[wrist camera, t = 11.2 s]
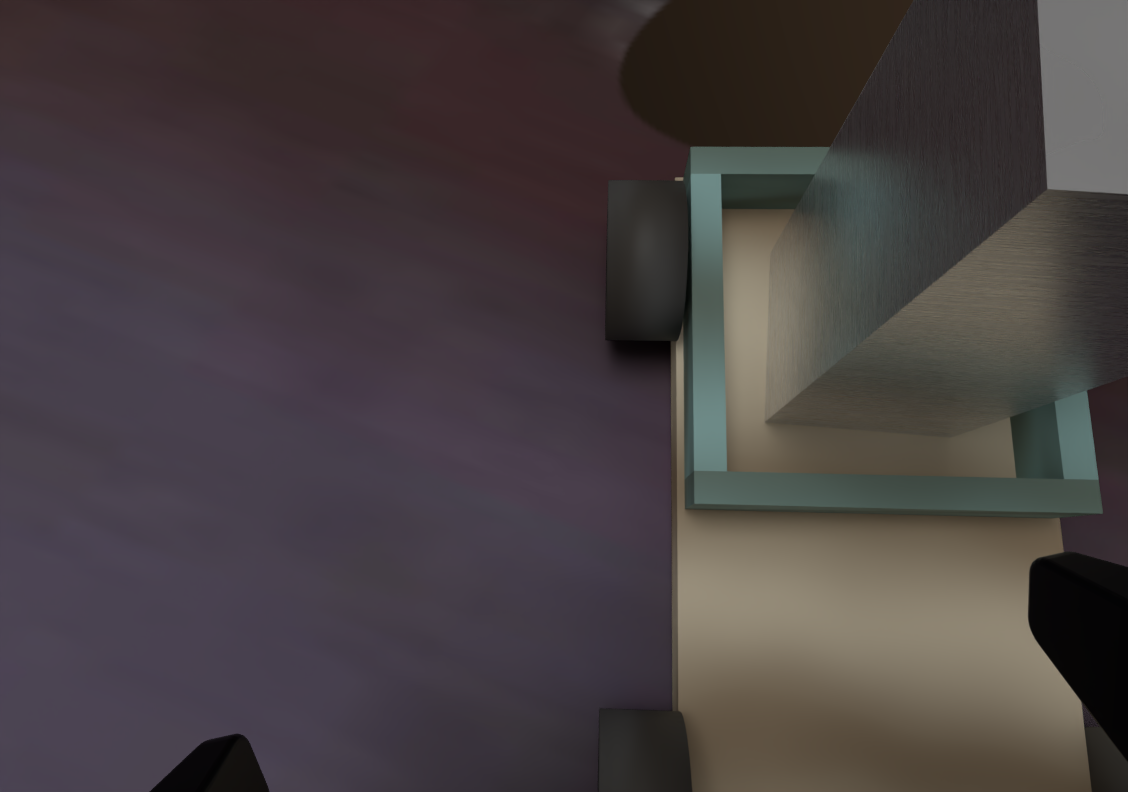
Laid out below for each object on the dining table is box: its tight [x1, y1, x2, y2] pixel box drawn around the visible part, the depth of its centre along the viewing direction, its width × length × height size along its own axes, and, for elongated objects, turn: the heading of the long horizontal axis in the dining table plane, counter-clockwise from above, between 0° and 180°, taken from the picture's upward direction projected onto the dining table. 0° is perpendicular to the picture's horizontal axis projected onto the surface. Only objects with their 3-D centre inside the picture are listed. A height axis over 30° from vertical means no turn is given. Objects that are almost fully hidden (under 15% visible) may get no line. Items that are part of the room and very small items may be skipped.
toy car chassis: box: [598, 147, 1128, 792], centre depth 19 cm, size 20×14×4 cm
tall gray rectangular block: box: [764, 0, 1128, 438], centre depth 14 cm, size 5×5×13 cm
